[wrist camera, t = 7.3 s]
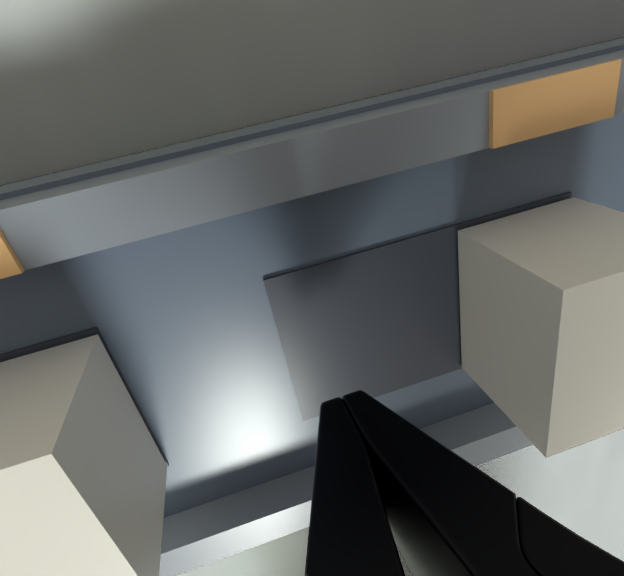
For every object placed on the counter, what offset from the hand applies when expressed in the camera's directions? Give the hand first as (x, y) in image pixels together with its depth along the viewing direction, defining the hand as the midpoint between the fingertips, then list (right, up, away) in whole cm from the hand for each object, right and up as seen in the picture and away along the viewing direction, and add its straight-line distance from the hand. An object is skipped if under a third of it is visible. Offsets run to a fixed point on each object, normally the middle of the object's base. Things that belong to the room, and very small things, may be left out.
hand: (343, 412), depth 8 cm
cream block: (-6, -1, +1) cm, 6 cm away
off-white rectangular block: (+5, +2, +2) cm, 6 cm away
